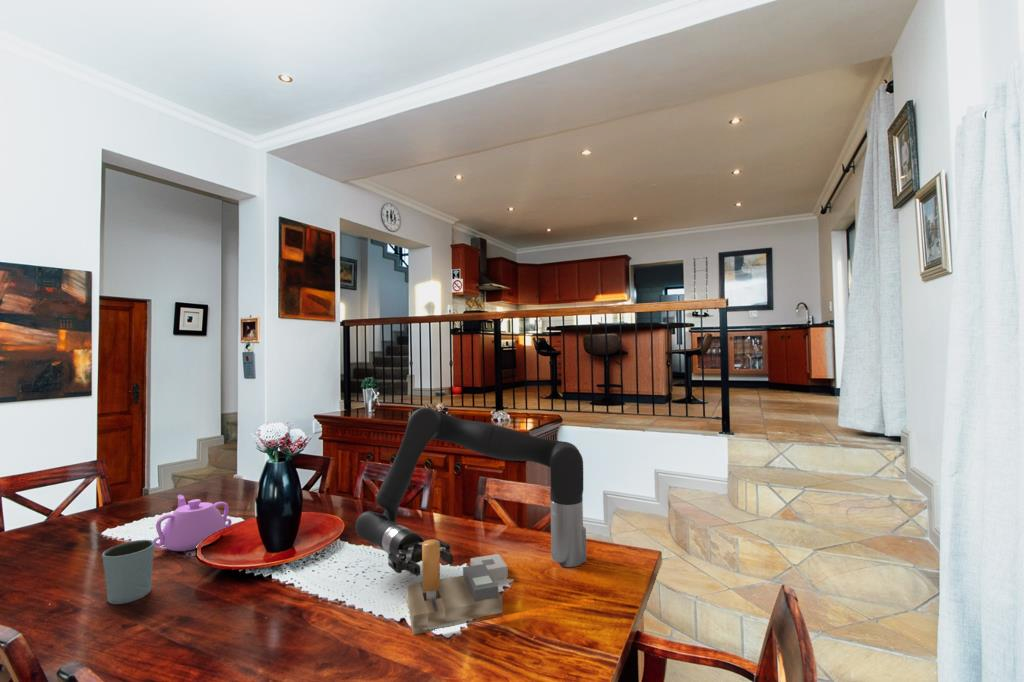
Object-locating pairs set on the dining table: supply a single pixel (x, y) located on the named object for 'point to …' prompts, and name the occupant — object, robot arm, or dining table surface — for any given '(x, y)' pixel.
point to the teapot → (190, 524)
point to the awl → (431, 567)
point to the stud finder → (480, 582)
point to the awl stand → (492, 565)
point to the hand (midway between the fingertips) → (435, 565)
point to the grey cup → (128, 571)
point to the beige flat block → (447, 605)
